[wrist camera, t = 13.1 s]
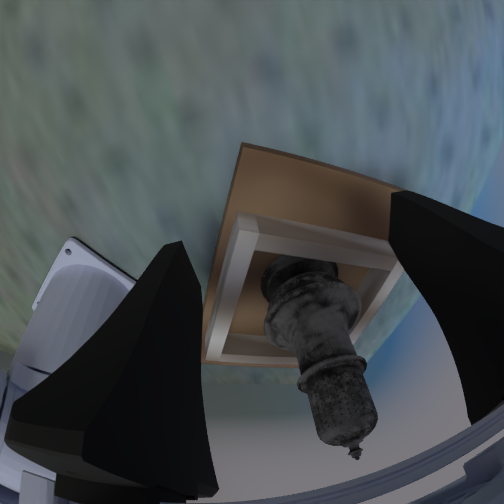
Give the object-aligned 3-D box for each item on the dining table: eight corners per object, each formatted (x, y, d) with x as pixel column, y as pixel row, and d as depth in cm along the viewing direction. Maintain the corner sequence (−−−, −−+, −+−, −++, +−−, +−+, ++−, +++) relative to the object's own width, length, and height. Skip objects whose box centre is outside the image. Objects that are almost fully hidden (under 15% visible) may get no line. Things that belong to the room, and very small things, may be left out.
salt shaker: (241, 265, 18) (272, 471, 8) (333, 230, 17) (431, 416, 7) (272, 321, 21) (306, 481, 11) (347, 293, 20) (412, 445, 11)
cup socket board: (318, 359, 27) (325, 384, 25) (193, 353, 24) (193, 382, 22) (415, 193, 17) (440, 215, 15) (241, 142, 14) (247, 158, 12)
